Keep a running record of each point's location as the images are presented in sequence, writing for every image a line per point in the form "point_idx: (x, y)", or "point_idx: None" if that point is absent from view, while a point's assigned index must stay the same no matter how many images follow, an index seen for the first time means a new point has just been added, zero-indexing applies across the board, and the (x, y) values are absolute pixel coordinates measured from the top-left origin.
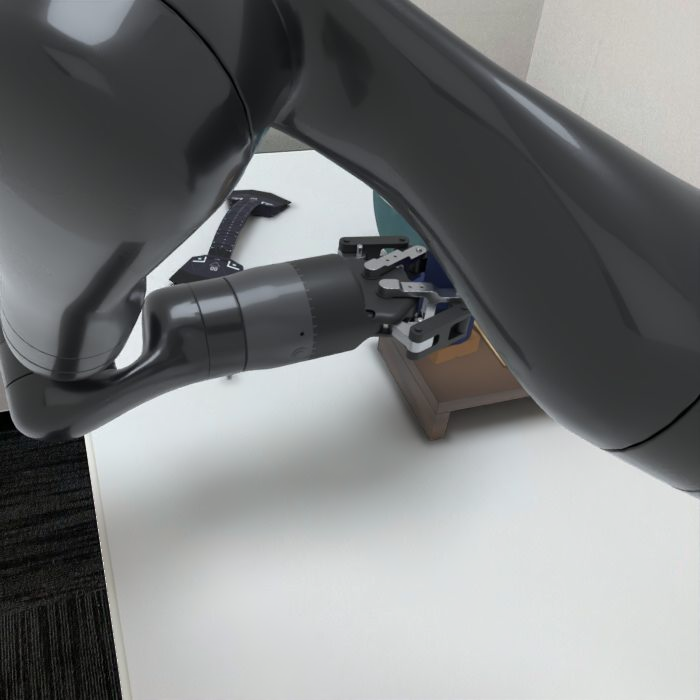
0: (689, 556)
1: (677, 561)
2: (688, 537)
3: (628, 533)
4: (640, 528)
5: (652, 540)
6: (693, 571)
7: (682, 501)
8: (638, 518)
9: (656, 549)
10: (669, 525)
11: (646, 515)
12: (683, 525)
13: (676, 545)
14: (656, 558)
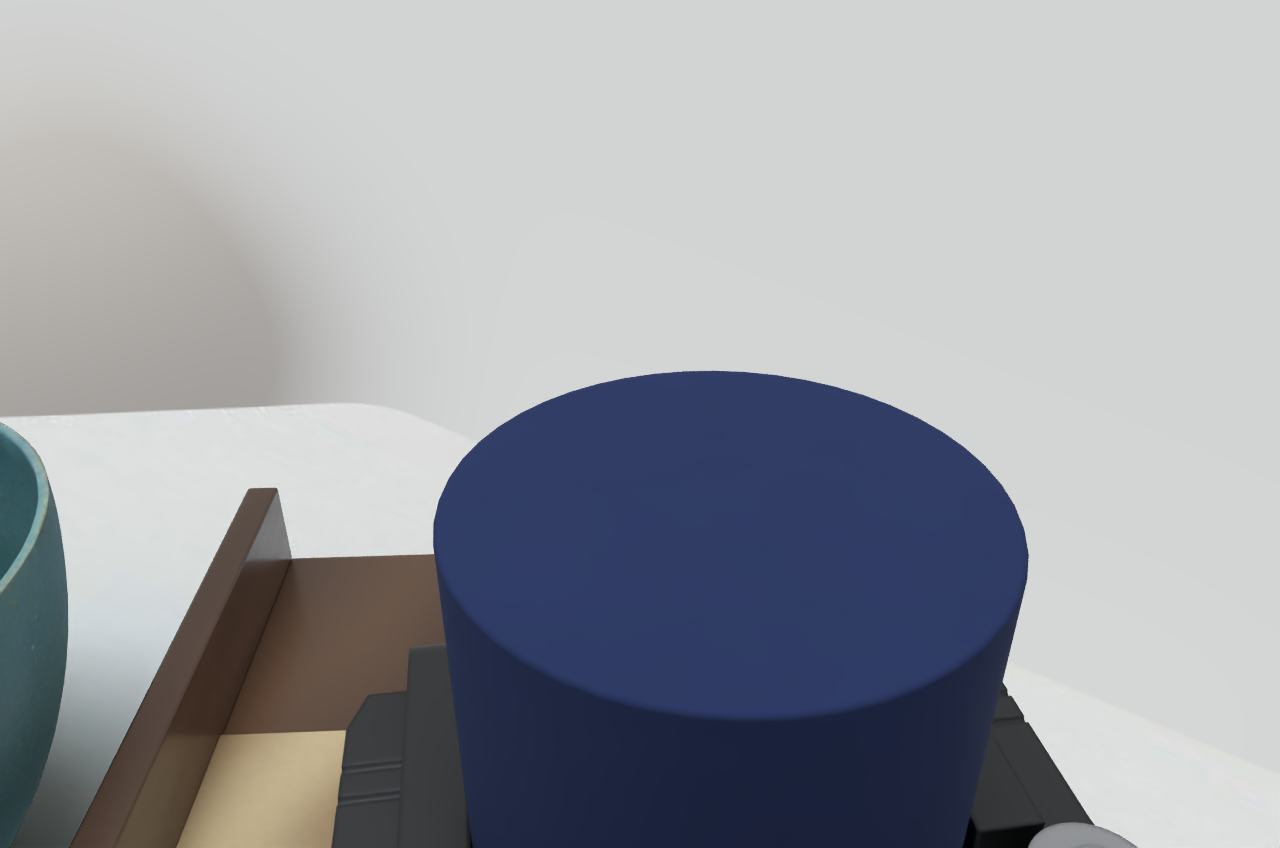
0: (1188, 745)
1: (1213, 776)
2: (1124, 720)
3: (1142, 844)
4: (1116, 807)
5: (1154, 799)
6: (1236, 758)
7: (1005, 681)
8: (1080, 796)
9: (1184, 804)
10: (1092, 740)
11: (1066, 774)
12: (1086, 713)
13: (1158, 755)
14: (1217, 818)
